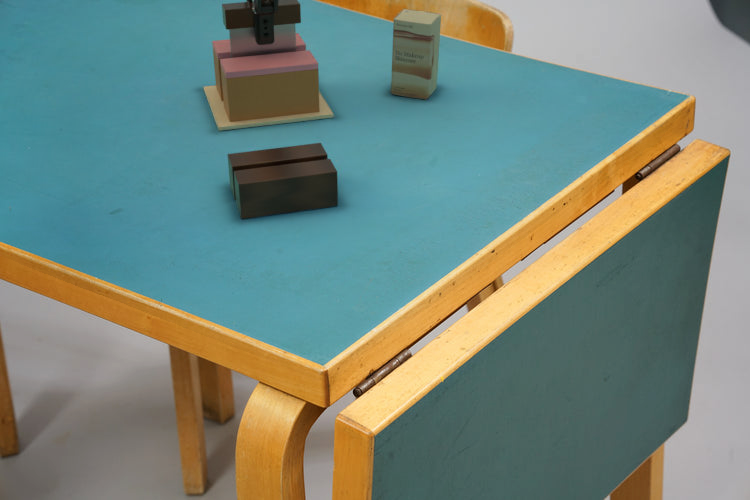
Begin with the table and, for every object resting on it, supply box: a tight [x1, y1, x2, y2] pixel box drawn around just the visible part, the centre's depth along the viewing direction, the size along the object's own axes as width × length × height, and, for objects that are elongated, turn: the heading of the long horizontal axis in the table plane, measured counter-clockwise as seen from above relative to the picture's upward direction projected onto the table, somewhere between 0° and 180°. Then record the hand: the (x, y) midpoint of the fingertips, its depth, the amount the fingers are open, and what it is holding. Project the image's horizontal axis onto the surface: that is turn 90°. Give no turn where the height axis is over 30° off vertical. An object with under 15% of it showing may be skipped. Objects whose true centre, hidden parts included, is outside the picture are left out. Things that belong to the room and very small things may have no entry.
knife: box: [221, 0, 302, 58], centre depth 119 cm, size 9×2×11 cm, turn 106°
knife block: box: [227, 142, 339, 220], centre depth 101 cm, size 10×7×4 cm
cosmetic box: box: [390, 8, 442, 100], centre depth 124 cm, size 5×4×10 cm
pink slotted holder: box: [203, 32, 335, 132], centre depth 121 cm, size 14×13×7 cm
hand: (262, 38), depth 119 cm, fingers closed on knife, 2 cm apart
